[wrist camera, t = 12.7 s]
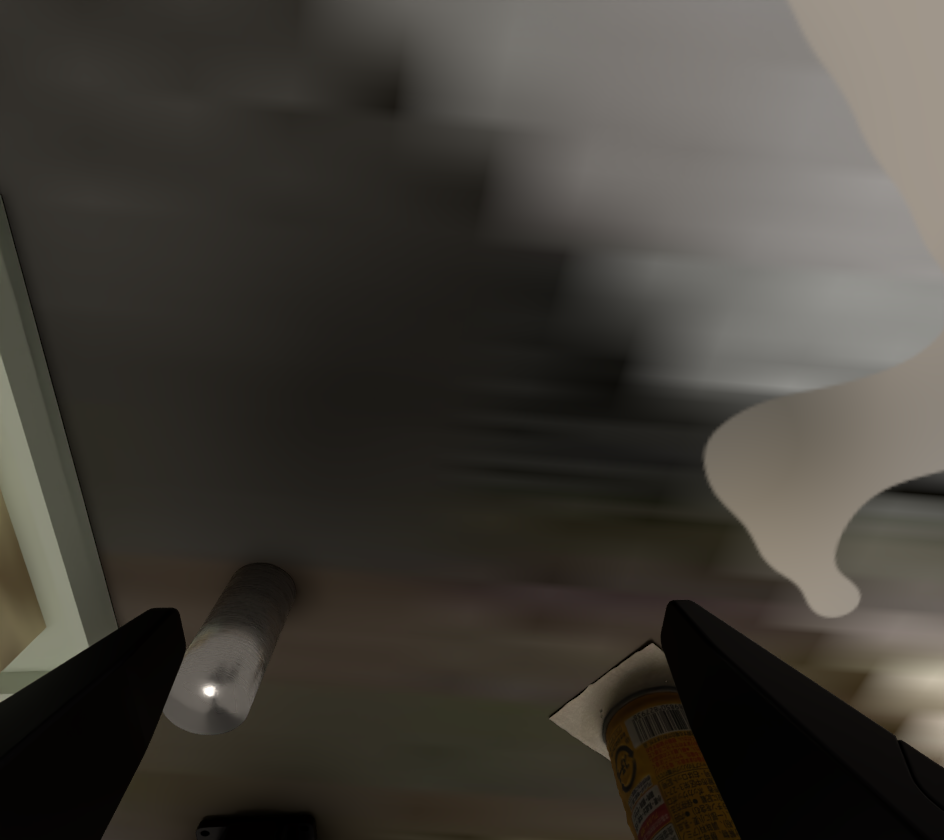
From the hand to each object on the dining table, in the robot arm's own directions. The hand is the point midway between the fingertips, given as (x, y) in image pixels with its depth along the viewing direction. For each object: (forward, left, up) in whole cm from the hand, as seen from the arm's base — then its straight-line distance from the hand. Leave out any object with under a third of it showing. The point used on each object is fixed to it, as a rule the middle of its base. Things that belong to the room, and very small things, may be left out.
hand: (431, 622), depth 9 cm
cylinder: (-9, +8, -12) cm, 17 cm away
